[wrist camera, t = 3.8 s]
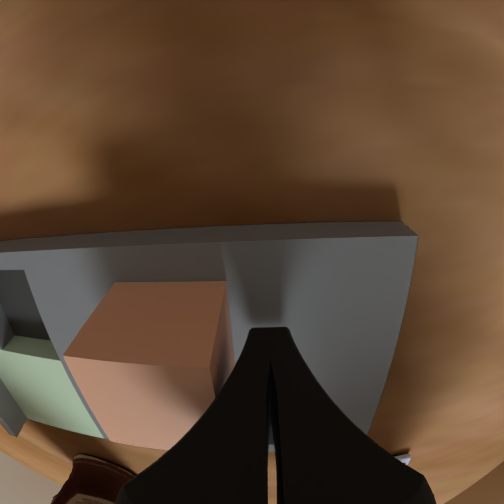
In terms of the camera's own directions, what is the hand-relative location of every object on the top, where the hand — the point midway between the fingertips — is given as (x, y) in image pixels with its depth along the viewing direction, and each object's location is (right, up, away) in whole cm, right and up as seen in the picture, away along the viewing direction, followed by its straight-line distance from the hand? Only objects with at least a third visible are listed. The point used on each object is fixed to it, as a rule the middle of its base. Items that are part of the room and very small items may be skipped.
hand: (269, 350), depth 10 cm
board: (-6, -2, +4) cm, 7 cm away
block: (-3, 0, +1) cm, 4 cm away
